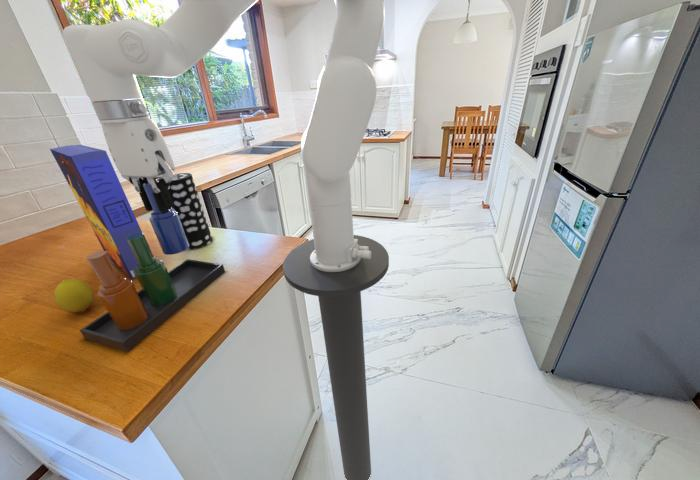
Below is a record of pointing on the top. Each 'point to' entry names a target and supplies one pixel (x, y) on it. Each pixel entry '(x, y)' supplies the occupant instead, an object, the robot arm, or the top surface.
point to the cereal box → (101, 200)
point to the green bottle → (151, 272)
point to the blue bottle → (166, 226)
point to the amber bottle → (117, 293)
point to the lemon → (73, 295)
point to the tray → (188, 285)
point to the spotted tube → (190, 210)
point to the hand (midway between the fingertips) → (160, 208)
